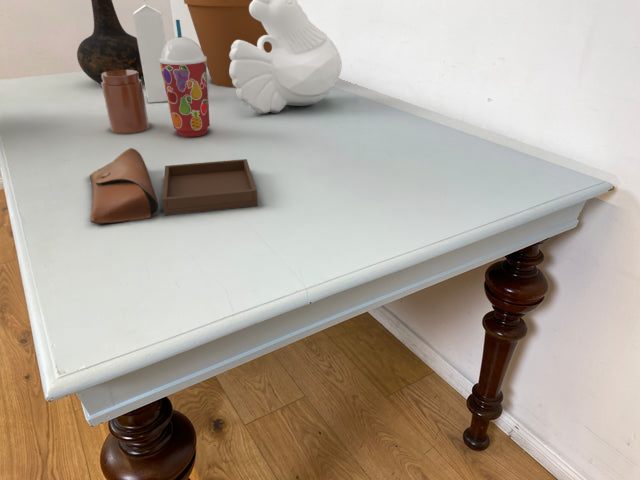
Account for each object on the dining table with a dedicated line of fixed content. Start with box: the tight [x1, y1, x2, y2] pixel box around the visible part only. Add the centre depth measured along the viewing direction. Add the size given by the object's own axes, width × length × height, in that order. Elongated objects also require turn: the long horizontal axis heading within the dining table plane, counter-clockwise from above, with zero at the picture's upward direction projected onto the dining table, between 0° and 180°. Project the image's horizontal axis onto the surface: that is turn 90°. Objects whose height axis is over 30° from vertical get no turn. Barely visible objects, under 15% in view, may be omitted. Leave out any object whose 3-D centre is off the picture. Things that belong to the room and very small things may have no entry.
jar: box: [100, 70, 150, 135], centre depth 93 cm, size 7×7×11 cm
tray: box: [161, 158, 259, 216], centre depth 68 cm, size 12×12×2 cm
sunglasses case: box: [89, 147, 159, 225], centre depth 67 cm, size 18×7×7 cm
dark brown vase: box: [76, 0, 144, 85], centre depth 125 cm, size 18×18×28 cm
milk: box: [132, 0, 168, 104], centre depth 110 cm, size 6×6×22 cm
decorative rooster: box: [229, 0, 343, 115], centre depth 105 cm, size 25×16×25 cm
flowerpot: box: [183, 0, 272, 88], centre depth 129 cm, size 28×28×24 cm
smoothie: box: [159, 19, 211, 138], centre depth 88 cm, size 8×8×20 cm
